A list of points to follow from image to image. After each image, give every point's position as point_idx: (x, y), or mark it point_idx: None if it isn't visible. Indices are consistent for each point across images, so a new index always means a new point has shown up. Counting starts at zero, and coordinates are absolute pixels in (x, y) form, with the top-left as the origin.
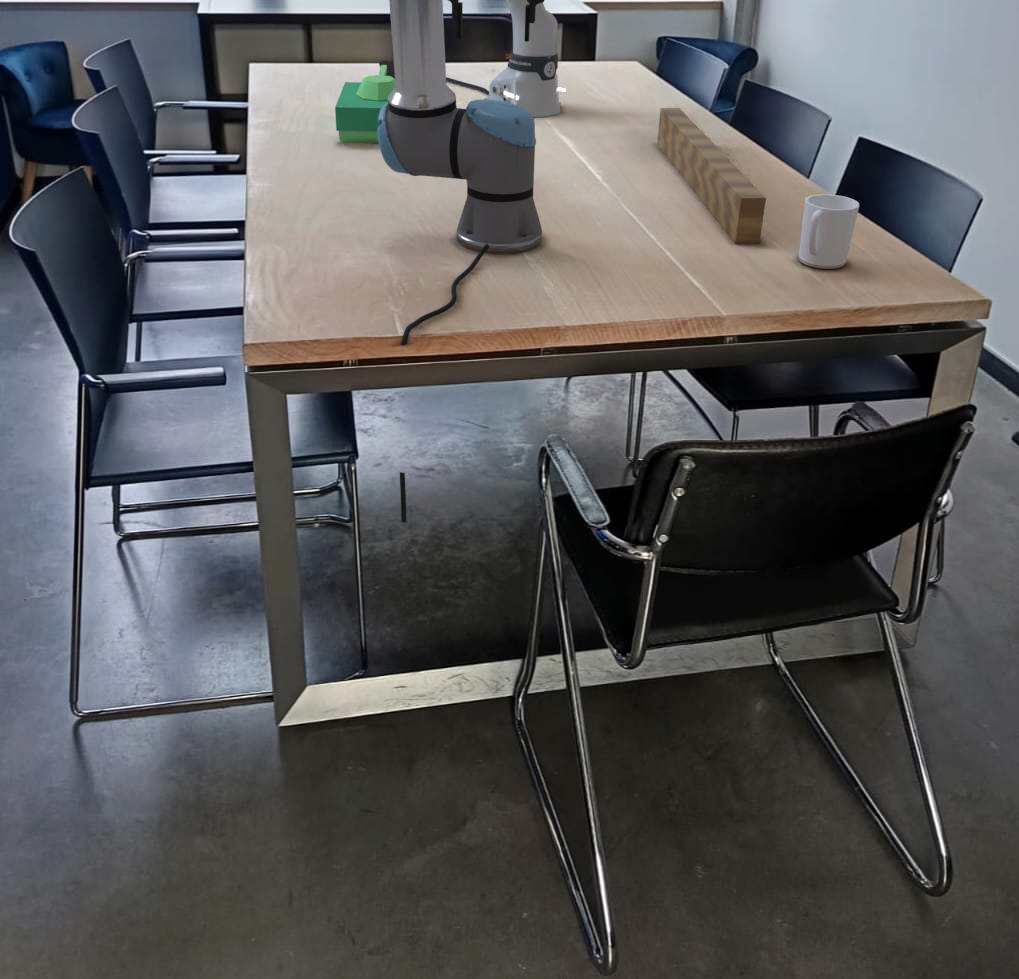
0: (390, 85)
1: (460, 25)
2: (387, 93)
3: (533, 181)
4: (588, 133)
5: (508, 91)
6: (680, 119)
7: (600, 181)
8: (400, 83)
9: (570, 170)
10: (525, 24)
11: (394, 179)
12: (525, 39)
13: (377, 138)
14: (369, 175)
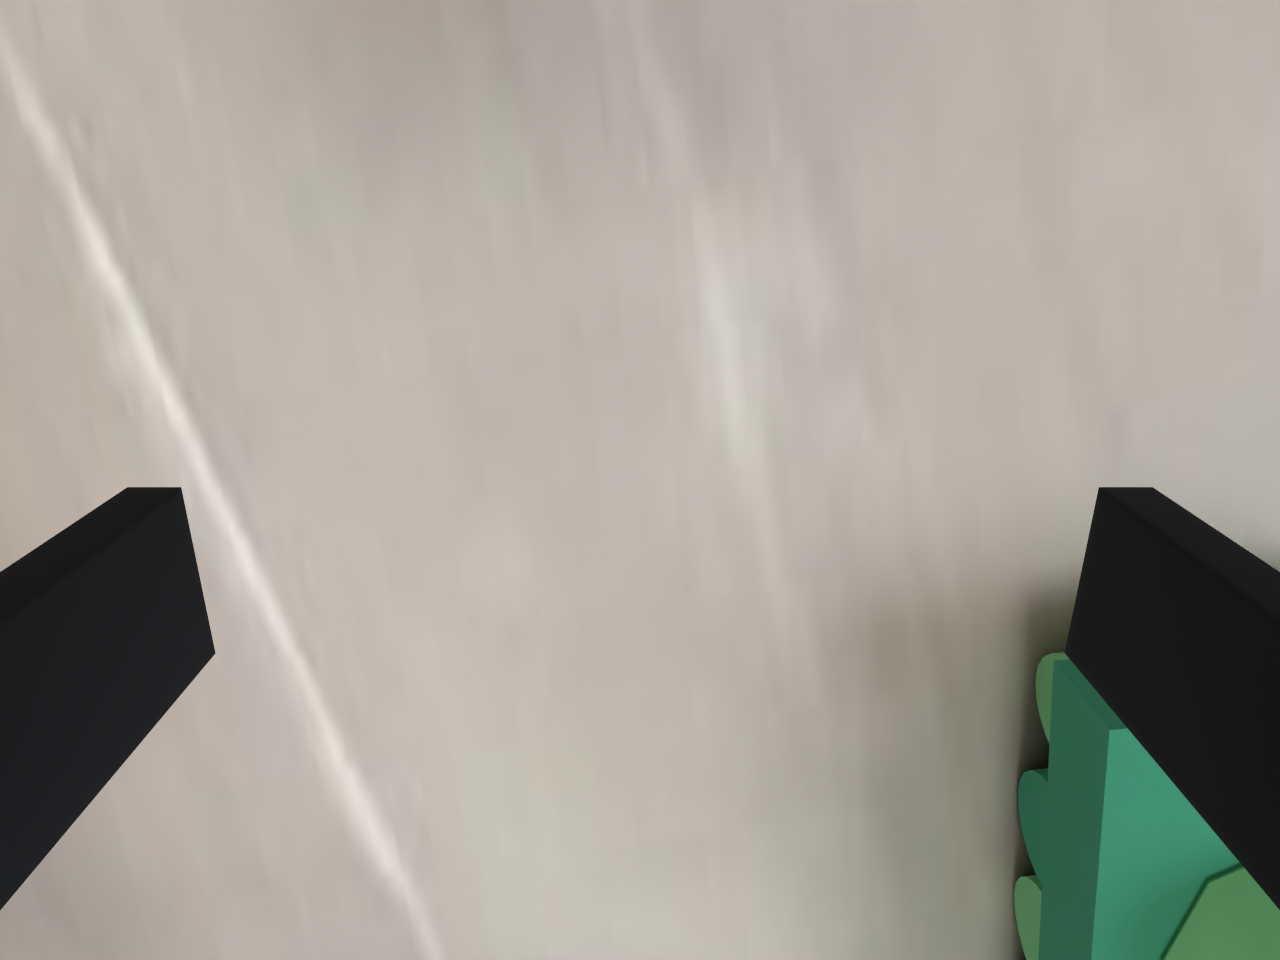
0: (1273, 954)
1: (1221, 573)
2: (1269, 899)
3: None
4: (291, 924)
5: None
6: None
7: (72, 176)
8: None
9: (259, 355)
10: (21, 595)
11: (1134, 44)
12: (155, 499)
13: None
14: (1264, 104)
